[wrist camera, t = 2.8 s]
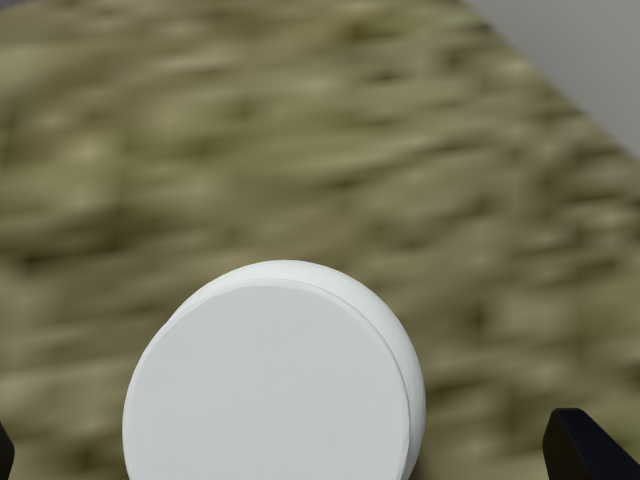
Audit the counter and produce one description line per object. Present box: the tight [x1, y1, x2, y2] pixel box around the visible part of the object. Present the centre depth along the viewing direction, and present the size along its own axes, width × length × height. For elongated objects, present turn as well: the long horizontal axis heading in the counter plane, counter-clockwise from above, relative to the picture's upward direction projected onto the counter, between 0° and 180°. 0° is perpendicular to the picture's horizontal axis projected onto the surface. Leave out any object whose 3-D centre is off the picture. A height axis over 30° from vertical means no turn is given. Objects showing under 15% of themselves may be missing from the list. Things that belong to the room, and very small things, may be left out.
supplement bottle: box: [123, 260, 426, 480], centre depth 12 cm, size 5×5×10 cm
